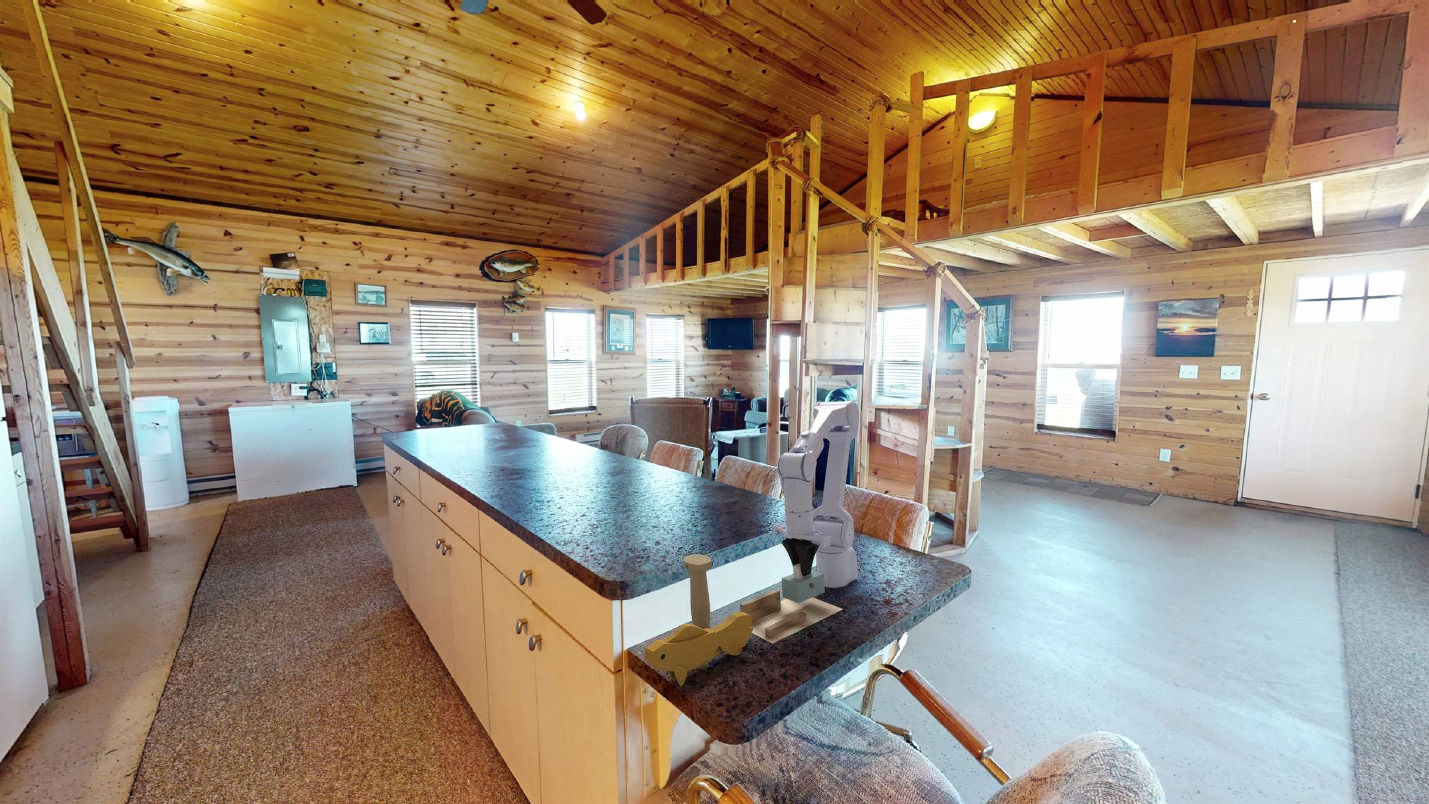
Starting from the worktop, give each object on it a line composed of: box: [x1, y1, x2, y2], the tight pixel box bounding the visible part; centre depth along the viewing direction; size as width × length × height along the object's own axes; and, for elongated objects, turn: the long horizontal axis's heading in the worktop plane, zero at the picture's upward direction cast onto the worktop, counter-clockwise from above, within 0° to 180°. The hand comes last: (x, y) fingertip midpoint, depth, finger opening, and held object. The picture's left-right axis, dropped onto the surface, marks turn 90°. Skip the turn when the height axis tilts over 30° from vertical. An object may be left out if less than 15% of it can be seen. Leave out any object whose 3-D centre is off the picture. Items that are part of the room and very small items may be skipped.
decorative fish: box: [643, 611, 753, 687], centre depth 90 cm, size 22×3×10 cm, turn 127°
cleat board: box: [739, 589, 843, 644], centre depth 106 cm, size 20×12×5 cm, turn 127°
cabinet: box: [781, 563, 826, 603], centre depth 109 cm, size 8×5×6 cm, turn 127°
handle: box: [682, 553, 713, 629], centre depth 103 cm, size 5×6×15 cm
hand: (802, 573), depth 109 cm, fingers closed on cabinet
